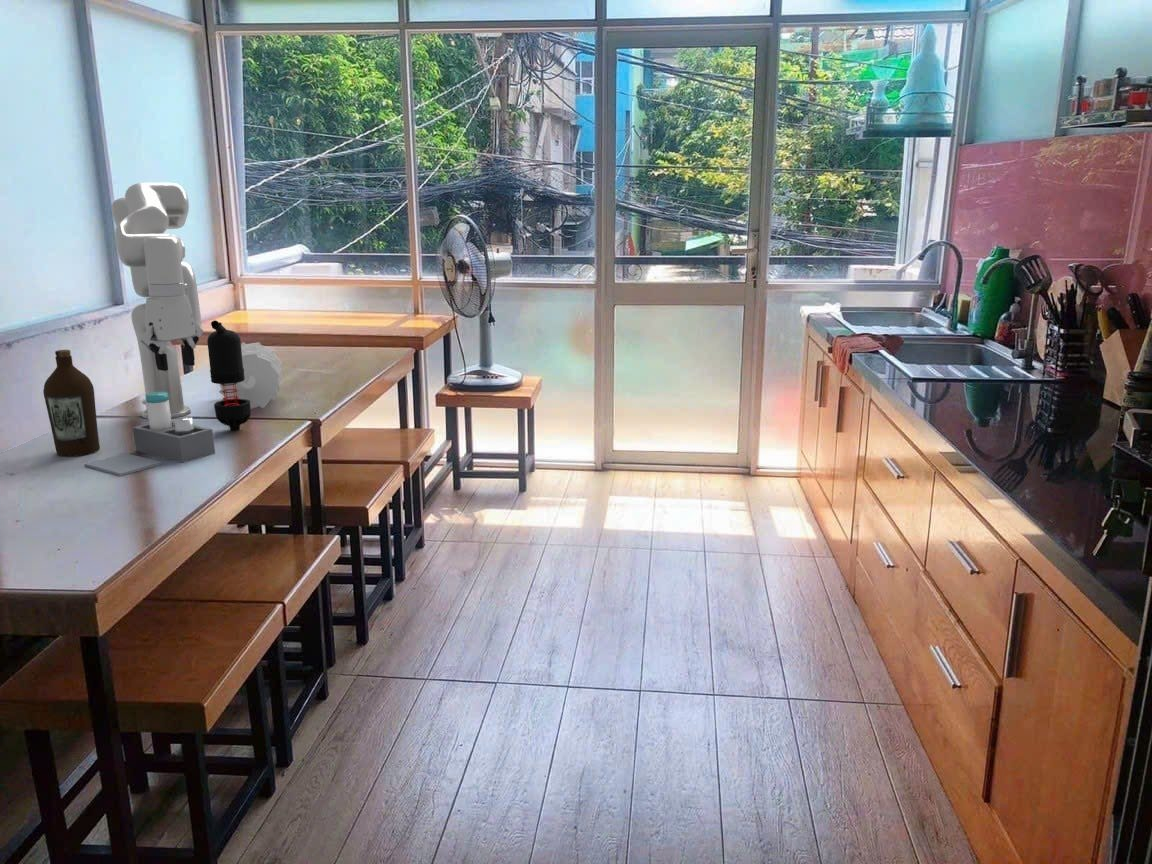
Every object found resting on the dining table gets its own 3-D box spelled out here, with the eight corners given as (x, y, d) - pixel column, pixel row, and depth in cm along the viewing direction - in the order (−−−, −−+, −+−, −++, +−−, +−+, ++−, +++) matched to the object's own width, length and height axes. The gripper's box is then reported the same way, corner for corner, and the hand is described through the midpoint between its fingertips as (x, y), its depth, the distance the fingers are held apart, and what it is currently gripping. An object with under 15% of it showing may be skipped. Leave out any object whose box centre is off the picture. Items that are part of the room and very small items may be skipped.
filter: (244, 435, 233) (232, 320, 225) (209, 435, 233) (196, 320, 225) (262, 422, 246) (251, 313, 238) (229, 422, 246) (217, 313, 238)
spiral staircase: (270, 406, 281) (268, 421, 258) (213, 385, 275) (205, 399, 251) (292, 352, 279) (291, 363, 256) (235, 330, 273) (229, 339, 250)
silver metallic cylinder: (171, 439, 215) (168, 419, 214) (187, 435, 219) (184, 415, 217) (182, 442, 213) (180, 422, 211) (198, 438, 216) (196, 418, 215)
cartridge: (148, 450, 220) (141, 394, 217) (166, 445, 225) (159, 391, 221) (161, 453, 218) (153, 397, 214) (179, 448, 222) (172, 393, 218)
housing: (136, 451, 220) (132, 427, 218) (168, 442, 227) (165, 419, 226) (182, 462, 211) (179, 438, 209) (215, 453, 218) (212, 429, 217)
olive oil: (61, 446, 224) (45, 347, 217) (107, 444, 226) (93, 346, 219) (47, 459, 214) (30, 355, 207) (95, 456, 216) (80, 353, 209)
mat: (84, 466, 208) (84, 463, 208) (125, 455, 216) (124, 453, 216) (121, 475, 201) (120, 473, 201) (161, 464, 209) (160, 461, 209)
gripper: (189, 286, 215) (198, 360, 220) (121, 293, 201) (132, 372, 206) (209, 288, 211) (218, 363, 216) (142, 295, 197) (152, 375, 202)
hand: (176, 366), depth 211 cm, fingers open, 6 cm apart
